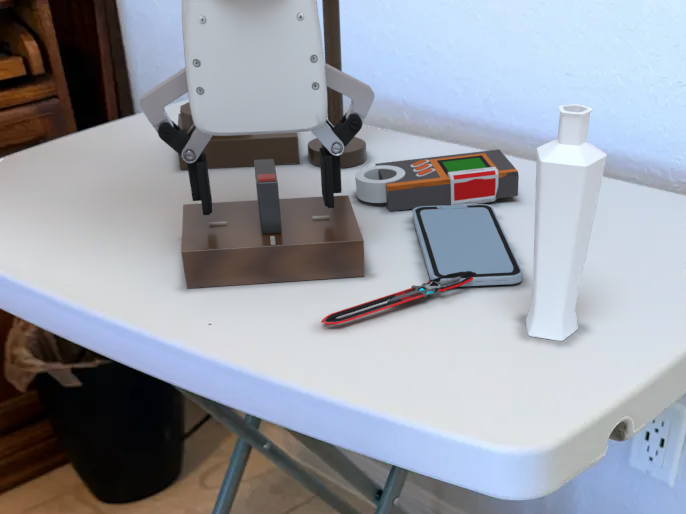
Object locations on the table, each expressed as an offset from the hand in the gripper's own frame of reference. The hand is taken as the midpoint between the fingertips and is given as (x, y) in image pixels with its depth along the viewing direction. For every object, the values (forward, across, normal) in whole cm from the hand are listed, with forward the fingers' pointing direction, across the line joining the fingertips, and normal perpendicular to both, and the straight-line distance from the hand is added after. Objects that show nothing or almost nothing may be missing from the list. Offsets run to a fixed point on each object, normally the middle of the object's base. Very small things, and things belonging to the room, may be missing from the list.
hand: (268, 205), depth 74 cm
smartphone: (+4, -16, +1) cm, 17 cm away
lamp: (+4, -8, -24) cm, 26 cm away
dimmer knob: (+1, 0, 0) cm, 1 cm away
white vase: (+4, -19, +16) cm, 25 cm away
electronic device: (+4, -16, -12) cm, 21 cm away
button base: (+4, +2, -28) cm, 28 cm away
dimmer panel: (+4, 0, 0) cm, 4 cm away
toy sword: (+4, -9, +10) cm, 15 cm away
